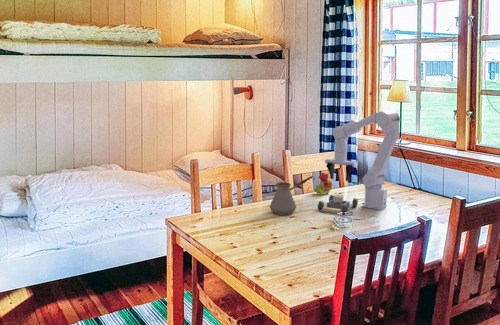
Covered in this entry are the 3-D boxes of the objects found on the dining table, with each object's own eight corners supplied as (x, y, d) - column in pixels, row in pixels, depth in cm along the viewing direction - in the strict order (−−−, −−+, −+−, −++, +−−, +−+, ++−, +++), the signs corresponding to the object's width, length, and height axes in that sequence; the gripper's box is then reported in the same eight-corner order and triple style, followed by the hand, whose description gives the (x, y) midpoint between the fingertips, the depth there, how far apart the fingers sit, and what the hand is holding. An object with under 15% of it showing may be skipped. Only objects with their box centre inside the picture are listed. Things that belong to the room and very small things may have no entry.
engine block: (343, 206, 228) (343, 195, 227) (342, 208, 224) (342, 197, 223) (334, 205, 229) (334, 195, 228) (333, 208, 225) (333, 197, 224)
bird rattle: (323, 196, 257) (309, 190, 253) (331, 175, 257) (318, 170, 253) (330, 199, 252) (316, 193, 247) (338, 178, 252) (325, 172, 247)
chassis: (332, 202, 237) (332, 194, 236) (358, 206, 231) (358, 197, 230) (317, 211, 222) (317, 202, 221) (344, 215, 216) (344, 206, 215)
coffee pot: (278, 218, 212) (278, 183, 209) (264, 211, 222) (265, 177, 219) (320, 211, 221) (321, 178, 219) (305, 205, 231) (306, 173, 229)
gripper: (358, 151, 239) (357, 179, 242) (329, 149, 246) (328, 176, 249) (353, 153, 233) (352, 182, 236) (323, 151, 241) (323, 179, 243)
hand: (339, 179), depth 242 cm, fingers open, 7 cm apart
